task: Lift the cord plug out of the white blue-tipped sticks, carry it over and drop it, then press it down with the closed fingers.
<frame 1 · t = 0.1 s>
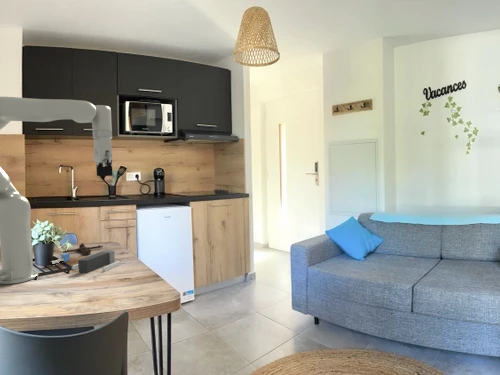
hand: (104, 175, 147), 37 cm above the table, tool pointing down, fingers open, 9 cm apart
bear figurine: (84, 253, 168), on the table
cord plug: (97, 267, 141), on the table
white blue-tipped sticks: (82, 266, 143), on the table
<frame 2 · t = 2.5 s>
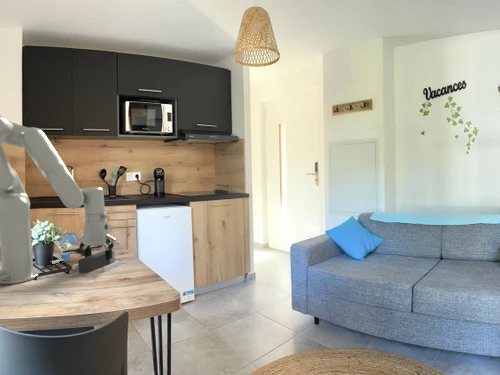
hand: (98, 258, 142), 3 cm above the table, tool pointing down, fingers open, 9 cm apart
nothing on the table moved.
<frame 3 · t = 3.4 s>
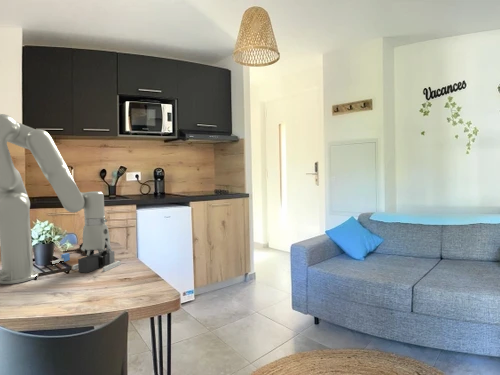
hand: (97, 265, 141), 0 cm above the table, tool pointing down, fingers closed on cord plug, 4 cm apart
cord plug: (96, 266, 141), on the table, touching gripper
everything else where it was.
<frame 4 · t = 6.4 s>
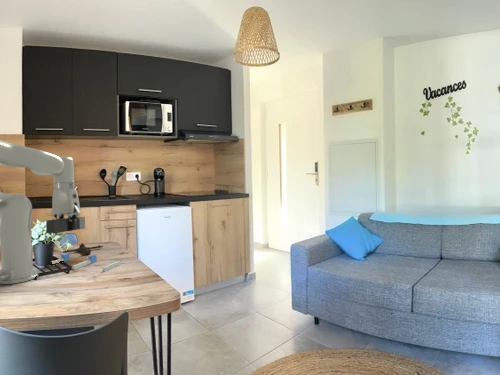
hand: (66, 229, 144), 15 cm above the table, tool pointing down, fingers closed on cord plug, 4 cm apart
cord plug: (66, 230, 144), point 15 cm above the table, touching gripper
everything else where it was.
when the fingers open (2 cm above the table, at t = 9.5 s): cord plug drops 2 cm, on the table.
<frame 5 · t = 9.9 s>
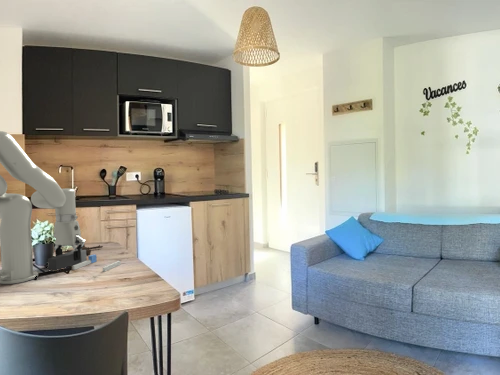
hand: (68, 259, 145), 3 cm above the table, tool pointing down, fingers open, 8 cm apart
cord plug: (68, 265, 145), on the table
everything else where it was.
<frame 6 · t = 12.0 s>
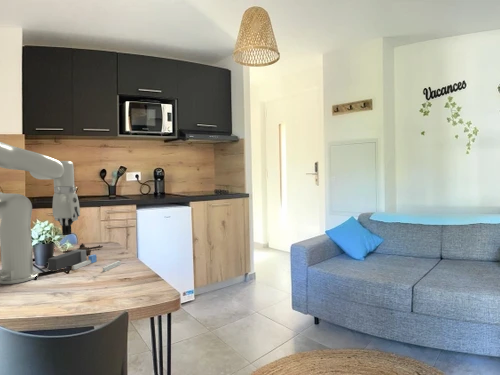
hand: (67, 234, 144), 13 cm above the table, tool pointing down, fingers closed
nothing on the table moved.
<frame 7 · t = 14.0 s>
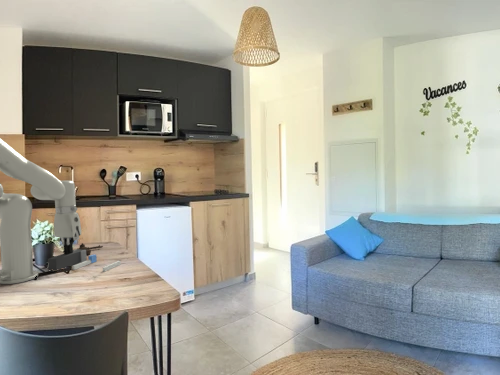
hand: (68, 253, 145), 5 cm above the table, tool pointing down, fingers closed
cord plug: (68, 265, 145), on the table, touching gripper
everything else where it was.
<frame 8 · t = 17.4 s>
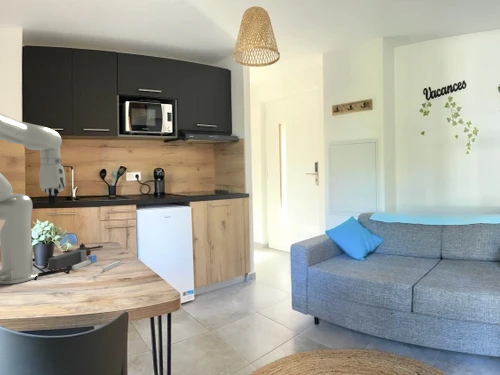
hand: (53, 204, 151), 25 cm above the table, tool pointing down, fingers closed
cord plug: (68, 265, 145), on the table
at the end: cord plug inside the target area (0.4 cm from its centre), on the table; the gripper is holding nothing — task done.
